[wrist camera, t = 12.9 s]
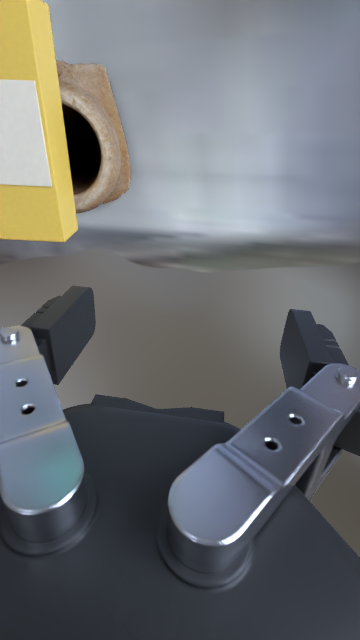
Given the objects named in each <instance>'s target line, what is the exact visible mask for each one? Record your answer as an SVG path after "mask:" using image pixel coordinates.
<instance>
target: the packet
mask: <svg viewBox="0 0 360 640" xmlns="http://www.w3.org/2000/svg"><path fill="white" fill-rule="evenodd" d="M77 230H78V225H77V217H76V210H75V202H74V195H73V187H72V179H71V172H70V164H69V157H68V149H67V141H66V134H65V126H64V119H63V111H62V104H61V96H60V88H59V81H58V73H57V66H56V58H55V51H54V43H53V35H52V28H51V20H50V13H49V6H48V5H47V4H46V3H44V2H43V1H41V0H0V239H10V240H30V241H49V242H65V241H66V240H67V239H69V238H70V237H71V236H72V235H73V234H74V233H75V232H76V231H77Z"/></svg>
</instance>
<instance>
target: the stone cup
mask: <svg viewBox="0 0 360 640" xmlns="http://www.w3.org/2000/svg"><path fill="white" fill-rule="evenodd" d="M56 66H57V73H58V81H59V88H60V96H61V104H62V111H63V119H64V126H65V134H66V141H67V149H68V157H69V164H70V172H71V179H72V187H73V195H74V202H75V210H76V213H81V212H85V211H89V210H91V209H94V208H96V207H97V206H99V205H100V204H104V203H108V202H110V201H113V200H116V199H118V198H119V197H120V196H121V195H122V194H123V193H125V192H126V191H127V190H128V188H129V186H130V177H131V175H130V160H129V153H128V148H127V143H126V139H125V135H124V132H123V128H122V124H121V121H120V117H119V113H118V110H117V107H116V103H115V100H114V96H113V93H112V89H111V85H110V81H109V78H108V74H107V72H106V69H105V67H104V66H103V65H100V64H67V63H65V62H63V61H60V60H56Z"/></svg>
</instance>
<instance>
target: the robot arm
mask: <svg viewBox="0 0 360 640" xmlns="http://www.w3.org/2000/svg"><path fill="white" fill-rule="evenodd" d="M95 323H96V322H95V309H94V297H93V291H92V289H91V288H90V287H80V286H72V287H71V288H69V290H67V291H66V292H65V293H64V294H63V295H62V296H58V297H55V298H53V299H51V300H49V301H48V302H46V303H45V304H44V305H43V306H42V308H40V309H39V310H37V312H36V313H34V314H33V315H32V316H31V317H30V318H29V319H27V320H26V321H25V322H24V323H23V324H22V325H21V326H8V327H3V328H0V640H360V557H359V556H358V555H357V554H356V553H355V552H354V551H353V549H352V548H351V547H350V546H349V545H348V544H347V543H346V542H345V540H343V538H342V537H341V536H340V535H339V534H338V533H337V531H336V530H335V529H334V528H333V527H332V526H331V525H330V524H329V522H327V520H326V519H325V518H324V517H323V516H322V515H321V514H320V512H319V511H318V510H317V509H316V508H315V507H314V506H313V504H312V503H311V502H310V501H311V499H312V497H313V495H314V494H315V492H316V490H317V488H318V487H319V485H320V484H321V482H322V481H323V479H324V478H325V477H326V475H327V474H328V472H329V471H330V469H331V468H332V467H333V465H334V463H335V462H336V461H337V459H338V458H339V456H340V455H341V454H342V452H343V450H346V451H348V452H351V453H354V454H356V455H358V456H360V371H359V370H358V369H356V368H354V367H351V366H349V365H348V363H347V361H346V359H345V357H344V355H343V353H342V351H341V349H340V348H339V345H338V343H337V342H336V339H335V337H334V336H333V334H332V332H331V331H330V330H328V329H327V328H326V327H325V326H323V325H320V324H316V323H315V320H314V318H313V316H312V314H311V312H310V311H303V310H294V309H290V310H289V312H288V316H287V320H286V325H285V328H284V333H283V337H282V341H281V346H280V360H281V364H282V369H283V373H284V378H285V382H286V387H287V389H286V390H285V391H284V392H283V393H282V394H281V395H280V396H279V397H277V398H276V399H275V400H274V401H273V402H272V403H271V404H270V405H268V406H267V407H266V408H265V409H264V410H263V411H262V412H260V413H259V414H258V415H257V416H256V417H255V418H254V419H253V420H251V421H250V422H249V423H248V424H247V425H246V426H245V427H243V428H242V429H239V428H237V427H235V426H233V425H231V424H229V423H226V422H224V412H222V411H214V410H207V409H200V408H192V407H191V408H174V409H173V408H172V409H155V408H152V407H149V406H146V405H143V404H141V403H137V402H135V401H132V400H129V399H125V398H117V397H110V396H103V395H95V397H94V399H93V401H92V403H91V404H83V405H77V406H73V407H70V408H67V409H64V410H62V407H61V404H60V401H59V398H58V396H57V393H56V390H55V387H54V384H56V385H58V384H59V383H60V381H61V380H62V379H63V377H64V376H65V374H66V373H67V372H68V370H69V368H70V367H71V365H72V364H73V363H74V361H75V360H76V359H77V357H78V356H79V354H80V353H81V351H82V350H83V348H84V347H85V346H86V344H87V343H88V341H89V340H90V338H91V337H92V335H93V333H94V330H95Z"/></svg>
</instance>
